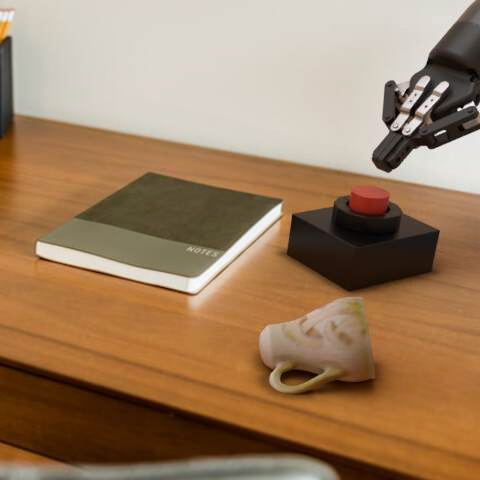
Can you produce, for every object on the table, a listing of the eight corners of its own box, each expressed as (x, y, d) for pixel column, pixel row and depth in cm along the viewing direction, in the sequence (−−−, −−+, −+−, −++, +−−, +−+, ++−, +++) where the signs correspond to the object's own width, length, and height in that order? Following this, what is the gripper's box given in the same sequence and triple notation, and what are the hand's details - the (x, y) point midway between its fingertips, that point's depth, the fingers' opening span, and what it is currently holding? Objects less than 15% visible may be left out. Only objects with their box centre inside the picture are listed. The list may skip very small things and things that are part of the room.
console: (366, 240, 105) (375, 184, 103) (431, 274, 97) (443, 214, 95) (285, 257, 100) (293, 197, 97) (348, 294, 92) (359, 231, 89)
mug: (245, 346, 81) (310, 257, 79) (336, 409, 80) (404, 320, 78) (240, 369, 74) (311, 271, 72) (340, 438, 73) (415, 341, 71)
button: (368, 200, 98) (371, 183, 98) (394, 213, 95) (398, 195, 94) (340, 205, 97) (343, 187, 96) (366, 218, 93) (370, 200, 93)
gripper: (423, 8, 98) (321, 127, 97) (525, 31, 88) (412, 164, 87) (447, 54, 103) (350, 168, 102) (547, 81, 92) (440, 208, 91)
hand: (379, 166), depth 94 cm, fingers closed
